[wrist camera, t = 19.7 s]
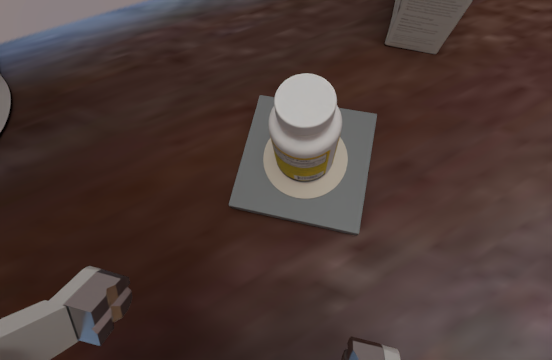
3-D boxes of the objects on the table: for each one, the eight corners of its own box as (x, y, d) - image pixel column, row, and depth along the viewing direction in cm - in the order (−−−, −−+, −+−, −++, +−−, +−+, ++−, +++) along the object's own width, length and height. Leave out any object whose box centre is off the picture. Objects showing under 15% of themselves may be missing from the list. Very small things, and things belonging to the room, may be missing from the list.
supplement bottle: (300, 121, 29) (300, 49, 19) (344, 153, 27) (367, 93, 18) (264, 160, 28) (246, 104, 18) (307, 196, 26) (312, 155, 17)
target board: (231, 207, 28) (227, 204, 27) (261, 101, 31) (259, 94, 30) (356, 235, 26) (359, 233, 25) (374, 120, 30) (377, 113, 28)
